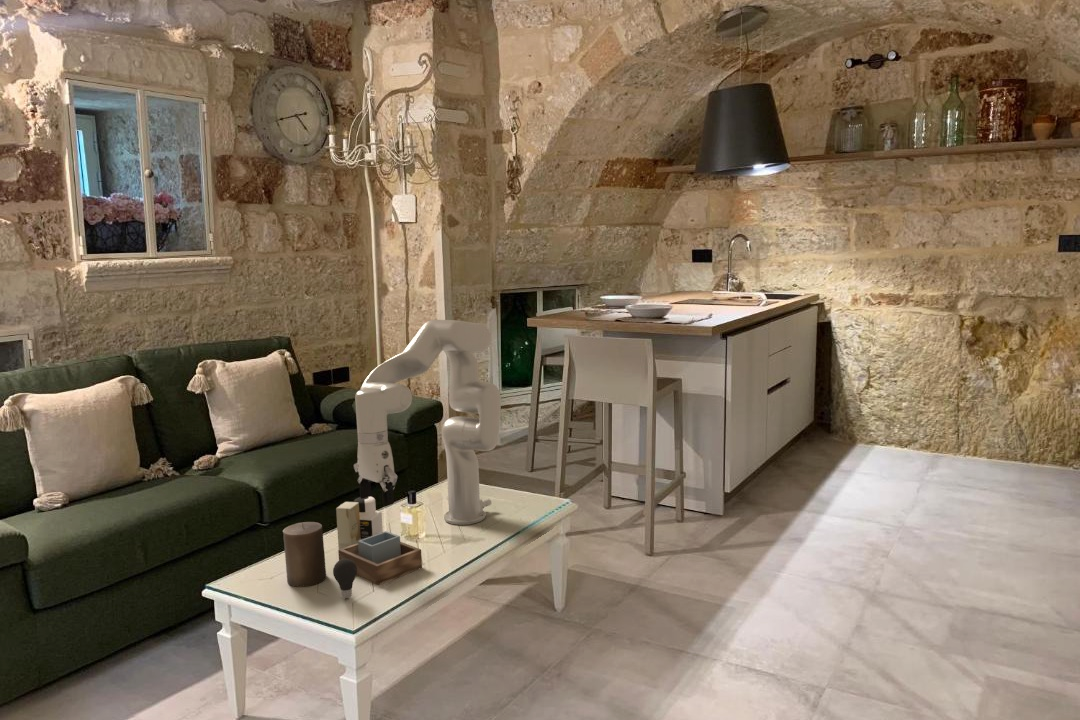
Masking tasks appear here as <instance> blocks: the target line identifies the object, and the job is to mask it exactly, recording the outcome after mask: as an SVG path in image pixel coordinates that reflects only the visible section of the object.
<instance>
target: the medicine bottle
mask: <svg viewBox="0 0 1080 720" xmlns="http://www.w3.org/2000/svg"><path fill="white" fill-rule="evenodd" d="M353 502H359V515H360V532H361V540H362V539H365V538H368V537H371V536H374V535H376V534H379V533H382V532H384V529H383V528H384V527H383V515H382V511H381V510H377V509H376V506H377V505H376V499H375V497H373V496H370V497H366V498H363V499H361V498H360V496H359V497H357V498H355V499H354V500H353Z"/></svg>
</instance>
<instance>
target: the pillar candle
mask: <svg viewBox="0 0 1080 720" xmlns="http://www.w3.org/2000/svg"><path fill="white" fill-rule="evenodd" d="M282 534H283V544H284V546H283V547H284V557H285V559H284V560H285V569H286V581H287V584H288V585H290V586H291V587H292V586H293V587H311V586H315V585H317V584H319V583H322V582H324V581H326V580H325V579H326V578H327V570H326V567H327V566H326V557H325V546H324V545H325V544H324V533H323V525H322V524H321V523H319V522H315V521H305V522H297V523H294V524H291V525H288V526H286V527H285V528H284V529H283V530H282Z"/></svg>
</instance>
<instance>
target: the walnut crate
mask: <svg viewBox="0 0 1080 720" xmlns="http://www.w3.org/2000/svg"><path fill="white" fill-rule="evenodd" d="M400 547H401V556H398V557H395V558H393V559H390V560H387V561H385V562H382V563H379V564H377V563H374V562H372V561H370V560H367V559H365V558H362V557H360V556H359V551H358V543H356V544H354V545H351V546H348V547H345V548H342V549H339V548H338V550H337V552H338V561H339V560H341V559H350V560H352V561H353V562H354V563H355V564H356V567H357V574H356V577H359V578H361V579H364V580H366V581H367V582H370V583H372V584H374V585H377V586H380V585H383V584H384V583H385V584H386V583H387V582H390V581H393V580H395V579H397V578H400V577H402V576H405V575H407V574H410V573H412V572H415V571H418V570H420V569H423V556H422V549H420V548H418V547H415V546H412V545H411V544H408V543H405V542H402V541H400ZM419 568H420V569H419Z"/></svg>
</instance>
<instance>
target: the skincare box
mask: <svg viewBox="0 0 1080 720" xmlns="http://www.w3.org/2000/svg"><path fill="white" fill-rule="evenodd" d="M335 511H336V526H337V540H338V541H337V542H338V543H337V544H338V546H337V547H338V550H339V549H342V548H345V547H348V546H351V545H354V544H356V543H358V541H359V540H361V532H360V515H359V502H354V501H344V502H343V503H341V504H340V505H338V506H337V507H336V508H335Z"/></svg>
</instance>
